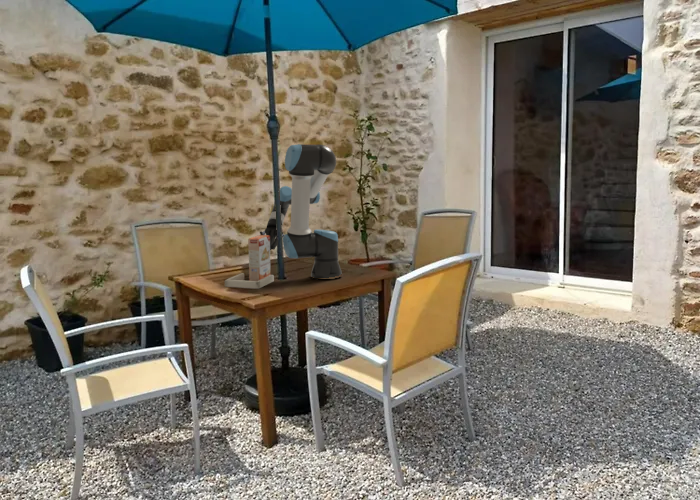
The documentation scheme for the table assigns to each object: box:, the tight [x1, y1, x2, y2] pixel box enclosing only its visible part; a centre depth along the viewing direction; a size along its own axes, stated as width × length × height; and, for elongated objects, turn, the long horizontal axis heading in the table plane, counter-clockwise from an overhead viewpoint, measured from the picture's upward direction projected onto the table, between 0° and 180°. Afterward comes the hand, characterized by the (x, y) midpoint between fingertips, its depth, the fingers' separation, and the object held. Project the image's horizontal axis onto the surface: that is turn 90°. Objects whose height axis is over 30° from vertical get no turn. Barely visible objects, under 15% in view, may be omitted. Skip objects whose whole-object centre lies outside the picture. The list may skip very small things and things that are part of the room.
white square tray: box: [224, 272, 275, 290], centre depth 275 cm, size 17×17×3 cm
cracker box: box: [247, 234, 271, 281], centre depth 283 cm, size 14×6×21 cm, turn 166°
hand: (263, 259), depth 292 cm, fingers closed
